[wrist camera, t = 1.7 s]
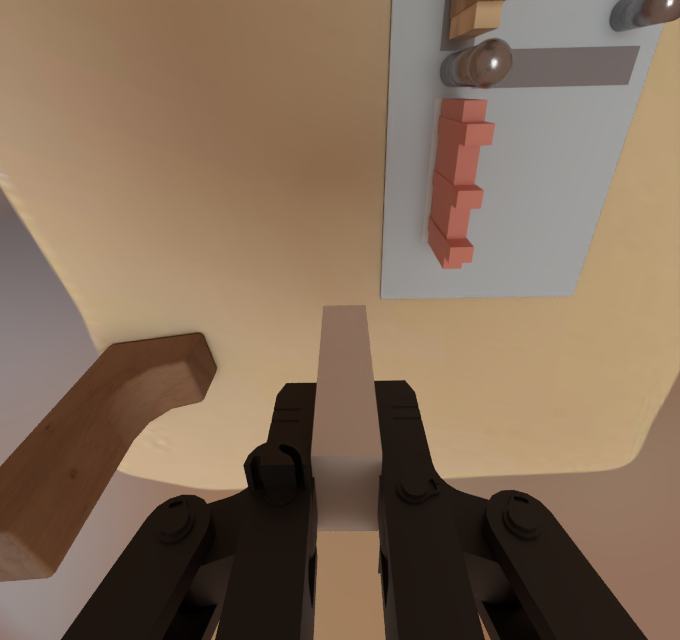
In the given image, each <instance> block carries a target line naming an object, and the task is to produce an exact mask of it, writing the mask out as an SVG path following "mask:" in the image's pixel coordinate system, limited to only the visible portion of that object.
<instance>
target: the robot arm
mask: <svg viewBox="0 0 680 640" xmlns="http://www.w3.org/2000/svg"><path fill="white" fill-rule="evenodd" d="M243 466H244V470H245V474H246V479H247V483H248V487H247V488H246V489H244V490H243V491H241V492H240V493H238V494H235V495H233V496H231V497H228V498H225V499H222V500H218V501H215V502H212V503H209V504H207V503H206V502H205V500H204V499H202V498H200V497H197V496H195V495H180V496H177V497H174V498H170V499H169V500H167V501H165V502H164V503H162V504H161V505H159V506H158V507H157V508H156V509H155V510H154V511H153V512H152V513H151V514H150V515H149V516H148V517H147V519H146V520H145V522H144V523H143V524H142V526H141V527H140V528H139V530H138V531H137V533H136V534H135V536H134V537H133V538H132V540H131V541H130V543H129V544H128V545H127V547H126V548H125V550H124V551H123V553H122V554H121V555H120V557H119V558H118V560H117V561H116V562H115V564H114V565H113V567H112V568H111V569H110V571H109V572H108V574H107V575H106V576H105V578H104V579H103V581H102V582H101V584H100V585H99V586H98V588H97V589H96V591H95V592H94V593H93V595H92V596H91V598H90V599H89V601H88V602H87V603H86V605H85V606H84V608H83V609H82V610H81V612H80V613H79V615H78V616H77V618H76V619H75V620H74V622H73V623H72V625H71V626H70V627H69V629H68V630H67V632H66V633H65V635H64V636H63V637H62V639H61V640H211V638H212V636H213V634H214V631H215V629H216V626H217V624H218V622H219V625H218V629H217V634H216V638H215V640H313V635H314V615H315V594H316V574H317V547H316V540H317V531H378V529H379V538H380V551H379V568H378V573H381V584H382V598H383V610H384V623H385V635H386V640H485V638H484V634H483V630H482V627H481V623H480V619H479V615H480V617H481V619H482V622H483V624H484V626H485V628H486V630H487V632H488V635H489V637H490V639H491V640H648V639H647V638H646V637H645V635H644V634H643V633H642V631H641V630H640V629H639V627H638V626H637V625H636V623H635V622H634V621H633V620H632V618H631V617H630V616H629V614H628V613H627V612H626V610H625V609H624V608H623V606H622V605H621V604H620V603H619V601H618V600H617V598H616V597H615V596H614V595H613V593H612V592H611V591H610V589H609V588H608V587H607V585H606V584H605V583H604V581H603V580H602V579H601V577H600V576H599V575H598V573H597V572H596V571H595V570H594V568H593V567H592V566H591V564H590V563H589V562H588V560H587V559H586V558H585V556H584V555H583V554H582V552H581V551H580V550H579V549H578V547H577V546H576V545H575V543H574V542H573V541H572V539H571V538H570V537H569V535H568V534H567V533H566V531H565V530H564V529H563V528H562V526H561V525H560V524H559V522H558V521H557V520H556V518H555V517H554V516H553V514H552V513H551V512H550V511H549V510H548V509H547V508H546V507H545V506H544V505H543V504H542V503H541V502H540V501H538V500H537V499H535V498H533V497H532V496H530V495H528V494H526V493H523V492H519V491H515V490H505V491H500V492H498V493H496V494H494V495H492V497H491V498H490V500H488V499H484V498H481V497H477V496H474V495H470V494H467V493H464V492H461V491H459V490H456V489H455V488H453V487H451V486H450V485H448V484H447V483H446V482H445V481H444V480H443V479H442V478H440V476H439V475H438V473H437V472H436V470H435V468H434V466H433V463H432V459H431V455H430V451H429V447H428V443H427V439H426V435H425V431H424V427H423V423H422V420H421V415H420V411H419V409H418V403H417V398H416V394H415V392H414V390H413V389H412V388H411V387H410V386H409V385H408V383H407V382H406V381H405V380H399V381H374V377H373V368H372V359H371V351H370V342H369V333H368V324H367V315H366V306H365V305H347V306H323V318H322V330H321V341H320V353H319V365H318V377H317V383H286V384H285V386H284V387H283V388H282V389H281V391H280V392H279V393H278V395H277V397H276V402H275V407H274V412H273V416H272V423H271V425H270V430H269V435H268V439H267V442H266V443H264V444H262V445H260V446H258V447H257V448H255V449H254V450H253V451H252V452H251V453H250V454H249V455H248V457H247V459H246V461H245V463H244V465H243ZM478 613H479V615H478ZM219 620H220V621H219Z"/></svg>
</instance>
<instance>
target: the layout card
mask: <svg viewBox="0 0 680 640" xmlns="http://www.w3.org/2000/svg"><path fill="white" fill-rule="evenodd" d="M619 1H620V0H506V1H504V2H503V6H502V13H501V19H500V25H499V28H497V29H495V30H492V31H490V32H487V33H485V34H482V35H479V36H477V37H474V38H472V39H469V40H449V34H450V24H451V19H449V17H450V7H451V0H392V7H391V33H390V59H389V85H388V111H387V137H386V163H385V189H384V215H383V241H382V267H381V293H380V298H381V299H425V298H484V297H543V296H573V294H574V291H575V288H576V285H577V282H578V279H579V276H580V273H581V270H582V267H583V264H584V261H585V258H586V255H587V252H588V249H589V246H590V243H591V240H592V237H593V234H594V231H595V228H596V225H597V222H598V219H599V216H600V213H601V210H602V207H603V204H604V201H605V198H606V195H607V192H608V189H609V186H610V183H611V180H612V177H613V174H614V171H615V168H616V165H617V163H618V160H619V157H620V154H621V151H622V148H623V145H624V142H625V139H626V136H627V133H628V130H629V127H630V124H631V121H632V118H633V115H634V112H635V109H636V106H637V103H638V100H639V97H640V94H641V91H642V88H643V85H644V82H645V79H646V76H647V73H648V70H649V67H650V64H651V61H652V58H653V55H654V52H655V49H656V46H657V43H658V40H659V37H660V34H661V31H662V28H663V25H664V23H660V24H656V25H651V26H646V27H641V28H636V29H632V30H627V31H622V32H616V31H614V30H613V29H612V28H611V27H610V23H609V18H610V14H611V11H612V9H613V8H614V6H615V5H616V4H617V3H618V2H619ZM490 38H500V39H503V40H504V41H506V42H507V43H508V44H509V45H510V47H511V49H512V52H513V64H512V68H511V70H510V73H509V74H508V76H507V77H506V79H505V80H504V81H503V82H502V83H500V84H499V85H498V86H496V87H493V88H490V89H481V88H478V87H448V86H446V85H444V84H443V82H442V81H441V78H440V67H441V64H442V62H443V60H444V59H445V58H446V57H447V56H448V55H450V54H452V53H455V52H458V51H461V50H464V49H467V48H470V47H473V46H476V45H479V44H480V43H481V42H483V41H485V40H487V39H490ZM450 98H466V99H480V100H488V102H487V108H486V115H485V121H486V122H490V123H495V129H494V135H493V140H492V145H487V146H481V147H480V153H479V159H478V166H477V172H476V178H475V184H476V185H477V186H479V187H480V188H481V189H483V190H484V193H483V199H482V205H481V209H471V210H470V217H469V223H468V229H467V236H466V238H467V239H468V240H469V241H470V242H471V244H472V245H473V246H474V252H473V258H472V263H462V268H461V269H443V268H442V267H441V265H440V263H439V261H438V260H437V258H436V256H435V254H434V252H433V251H432V249H431V247H430V245H429V244H428V237H429V231H428V224H429V217H431V208H432V198H433V189H434V186H433V175H434V170H435V169H436V160H437V150H438V140H439V134H438V125H439V117H441V111H442V102H443V99H450Z"/></svg>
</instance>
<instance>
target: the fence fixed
mask: <svg viewBox="0 0 680 640" xmlns="http://www.w3.org/2000/svg"><path fill="white" fill-rule="evenodd" d="M504 1H506V0H451V7H450V17H449V19H451V24H450V34H449V40H469V39H472V38H474V37H477V36H479V35H482V34H485V33H487V32H490V31H492V30H495V29H497V28H499V25H500V19H501V13H502V6H503V2H504Z"/></svg>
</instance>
